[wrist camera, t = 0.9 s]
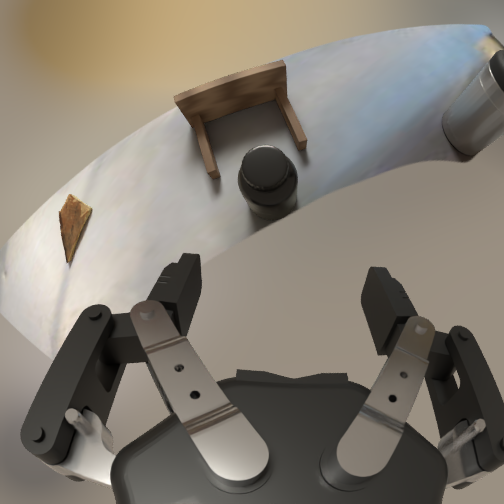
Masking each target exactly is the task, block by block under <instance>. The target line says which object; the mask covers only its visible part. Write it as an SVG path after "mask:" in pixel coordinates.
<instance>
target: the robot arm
mask: <svg viewBox="0 0 504 504" xmlns="http://www.w3.org/2000/svg"><path fill="white" fill-rule="evenodd" d="M442 126H443V129H444V132H445V134H446V136H447V138H448V140H449V141H450V142H451V144H452V145H453V146H454V147H455V148H456V149H457V150H459V151H460V152H462V153H464V154H466V155H475V154H477V153H478V152H480V151H481V150H483V149H484V148H485V147H487V146H488V145H490V144H491V143H493V142H494V141H495V140H497V139H498V138H499V137H501V136H502V135H504V50H500V51H498V52H496V53H495V54H494V55H493V57H492V58H491V59H490V60H489V62H488V63H487V64H486V65H485V66H484V68H483V69H482V70H481V71H480V73H479V74H478V75H477V76H476V77H475V79H474V80H473V81H472V82H471V83H470V85H469V86H468V87H467V88H466V89H465V90H464V92H463V93H462V94H461V95H460V96H459V97H458V99H457V100H456V101H455V102H454V103H453V104H452V105H451V106H450V108H449V109H448V110H447V111H446V112H445V113H444V115H443V118H442ZM201 288H202V279H201V262H200V255H199V254H191V253H183V254H182V256H181V258H180V260H179V262H178V263H171V264H169V265H168V266H167V267H165V268H164V270H163V271H162V273H161V275H160V277H159V278H158V280H157V282H156V284H155V285H154V287H153V289H152V291H151V293H150V294H149V296H148V298H147V300H146V301H142V302H139V303H137V304H136V305H134V306H133V308H132V309H131V311H130V312H129V313H121V314H111V311H110V309H109V308H108V307H107V306H105V305H101V304H98V305H92V306H90V307H88V308H86V309H85V310H84V311H83V312H82V313H81V315H80V316H79V318H78V320H77V321H76V323H75V324H74V326H73V328H72V329H71V331H70V333H69V334H68V336H67V338H66V340H65V341H64V343H63V345H62V347H61V348H60V350H59V352H58V354H57V356H56V357H55V359H54V361H53V363H52V365H51V367H50V369H49V371H48V372H47V374H46V376H45V378H44V380H43V382H42V384H41V386H40V388H39V390H38V392H37V394H36V396H35V399H34V401H33V403H32V405H31V407H30V409H29V412H28V414H27V416H26V419H25V421H24V423H23V426H22V429H21V441H22V443H23V445H24V447H25V448H26V449H27V450H28V451H29V452H31V453H32V454H33V455H35V456H36V457H38V458H39V459H40V461H42V462H43V463H44V464H46V465H47V466H49V467H50V468H52V469H53V470H55V471H56V472H58V473H60V474H62V475H65V476H66V477H68V478H69V479H71V480H74V481H84V480H87V481H90V482H93V483H95V484H98V485H101V486H104V487H107V488H111V489H113V492H114V495H115V500H116V504H442V498H443V494H444V491H445V489H446V488H449V487H453V488H454V489H462V488H465V487H466V486H469V485H470V484H472V483H474V482H476V481H477V480H479V479H481V478H483V477H484V476H486V475H488V474H489V473H491V472H492V471H494V470H496V469H497V468H498V467H500V466H502V465H503V464H504V403H503V400H502V397H501V395H500V392H499V390H498V387H497V385H496V382H495V380H494V378H493V375H492V373H491V371H490V369H489V366H488V364H487V362H486V360H485V358H484V356H483V354H482V351H481V350H480V348H479V346H478V343H477V342H476V340H475V338H474V336H473V334H472V333H471V332H470V331H469V330H468V329H467V328H465V327H462V326H454V327H452V329H451V330H450V332H449V334H447V333H443V332H438V331H435V327H434V325H433V324H432V323H431V322H430V321H429V320H428V319H426V318H424V317H421V316H418V314H417V312H416V310H415V308H414V306H413V304H412V303H411V301H410V299H409V297H408V295H407V293H405V290H404V288H403V286H402V284H400V283H399V282H398V281H397V280H396V279H395V278H392V277H391V275H390V274H389V272H388V270H387V269H386V268H385V267H370V269H369V271H368V275H367V278H366V281H365V284H364V287H363V291H362V294H361V304H362V308H363V311H364V314H365V316H366V320H367V322H368V326H369V328H370V331H371V335H372V338H373V341H374V344H375V347H376V350H377V354H378V355H387V356H388V359H387V361H386V362H385V364H384V366H383V368H382V370H381V372H380V373H379V375H378V377H377V379H376V381H375V382H374V384H373V386H372V387H371V389H370V390H369V389H368V388H366V387H364V386H362V385H360V384H357V383H354V382H351V381H348V376H347V373H321V374H316V375H311V376H306V377H301V378H296V379H293V378H288V377H284V376H280V375H276V374H272V373H269V372H265V371H251V370H239V369H237V373H236V377H233V378H228V379H224V380H221V381H218V382H215V380H214V379H213V377H212V376H211V374H210V373H209V371H208V370H207V368H206V367H205V365H204V364H203V362H202V361H201V359H200V358H199V356H198V355H197V353H196V352H195V350H194V348H193V347H192V345H191V344H190V342H189V341H188V339H187V338H186V336H187V333H188V330H189V327H190V324H191V321H192V318H193V315H194V312H195V309H196V306H197V303H198V300H199V297H200V294H201ZM139 362H146V364H147V367H148V369H149V371H150V374H151V376H152V378H153V380H154V382H155V384H156V386H157V388H158V391H159V393H160V395H161V397H162V399H163V401H164V404H165V406H166V408H167V410H168V412H169V414H170V416H168V417H167V418H166V419H164V420H163V421H161V422H160V423H158V424H157V425H156V426H154V427H153V428H152V429H150V430H149V431H147V432H146V433H144V434H143V435H141V436H140V437H139V438H137V439H136V440H134V441H133V442H131V443H130V444H128V445H127V446H125V447H124V448H123V449H122V450H121V451H119V453H118V454H117V455H114V452H113V436H112V434H111V432H110V430H109V429H108V428H107V427H106V422H107V419H108V416H109V413H110V410H111V407H112V404H113V401H114V398H115V395H116V392H117V389H118V386H119V384H120V381H121V378H122V375H123V373H124V370H125V367H126V364H127V363H139ZM456 370H457V373H458V375H459V378H460V387H459V389H458V387H457V384H456V381H455V378H454V376H453V374H454V372H455V371H456ZM424 377H425V381H426V384H427V387H428V391H429V394H430V398H431V401H432V405H433V409H434V412H435V417H436V421H437V424H438V429H439V434H440V438H441V439H440V441H439V443H438V449H437V448H436V447H434V446H433V445H432V444H431V443H430V442H429V441H428V440H426V439H425V438H424V437H423V436H422V435H421V434H420V433H418V432H417V431H416V430H415V429H414V428H413V427H411V426H410V425H409V424H408V423H407V422H406V420H407V418H408V416H409V413H410V411H411V409H412V407H413V404H414V402H415V399H416V397H417V394H418V392H419V389H420V386H421V384H422V381H423V379H424Z"/></svg>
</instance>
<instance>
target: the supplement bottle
mask: <svg viewBox="0 0 504 504" xmlns="http://www.w3.org/2000/svg"><path fill="white" fill-rule="evenodd" d="M238 185H239V189H240V191H241V193H242V195H243V197H244V198H245V200H246V202H247V204H248V205H249V207H250V209H251V210H252V211H253V213H254V214H256V215H257V216H258V217H260V218H262V219H265V220H278V219H281V218H284V217H285V216H287V215H288V214H289V213H290V212H291V211H292V209H293V208H294V206H295V203H296V198H297V185H298V176H297V171H296V168H295V166H294V164H293V163H292V161H291V160H290V159H289V158H288V157H286V156H285V154H284V153H283V152H282V151H281V150H279V149H278V148H276V147H274V146H271V145H264V146H263V145H261V146H257V147H255V148H252V150H249V152H248V153H246V156H244V159H243V161H242V165H241V168H240V170H239V173H238Z"/></svg>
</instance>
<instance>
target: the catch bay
mask: <svg viewBox="0 0 504 504" xmlns="http://www.w3.org/2000/svg"><path fill="white" fill-rule="evenodd" d="M174 100H175V103H176V105H177V106H178V108H179V109H180V110H181V112H182V113H183V115H184V116H185V118H186V119H187V121H188V122H189V124H190V125H191V127H192V128H195V132H196V135H197V139H198V142H199V146H200V149H201V153H202V156H203V159H204V163H205V166H206V170H207V173H208V174H209V175H210V177H211V178H212V179H216V178H218V177H221V176H220V173H219V170H218V167H217V164H216V160H215V157H214V154H213V151H212V148H211V144H210V141H209V138H208V135H207V131H206V128H205V125H204V123H206V122H209V121H212V120H214V119H217V118H220V117H223V116H225V115H228V114H231V113H234V112H237V111H240V110H243V109H246V108H249V107H252V106H255V105H259V104H262V103H265V102H269V101H272V100H276V102H277V104H278V106H279V108H280V110H281V112H282V115H283V117H284V119H285V121H286V123H287V126H288V128H289V130H290V132H291V135H292V137H293V139H294V141H295V144H296V146H297V148H298V151H299V150H303V149H306V145H307V138H306V136H305V134H304V131H303V129H302V127H301V125H300V123H299V121H298V119H297V116H296V114H295V112H294V110H293V108H292V106H291V104H290V102H289V100H288V98H287V78H286V64H285V63H284V61H283V60H280V61H276V62H272V63H269V64H265V65H261V66H258V67H254V68H251V69H247V70H244V71H241V72H237V73H234V74H231V75H228V76H226V77H222V78H220V79H217V80H214V81H211V82H208V83H206V84H203V85H200V86H198V87H195V88H193V89H190V90H188V91H185V92H183V93H180V94H178V95H176V96H174Z"/></svg>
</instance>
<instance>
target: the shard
mask: <svg viewBox="0 0 504 504" xmlns="http://www.w3.org/2000/svg"><path fill="white" fill-rule="evenodd" d="M91 210H92V208H91V207H89V206H88V205H86V204H84V203H83V202H82V201H80V200H79V199H78V198H77V197H75V196H73V195H72V194H69V195H68V197H67V200H66V202H65V204H64V206H63V207H62V209H61V211H59V221H60V229H61V236H62V241H63V246H64V250H65V255H66V262H67V263H68V262H69V261H71V260H72V257H73V254H74V250H75V247H76V244H77V241H78V239H79V236H80V233H81V231H82V229H83V227H84V225H85V223H86V220H87V219H88V217H89V215H90V213H91Z"/></svg>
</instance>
